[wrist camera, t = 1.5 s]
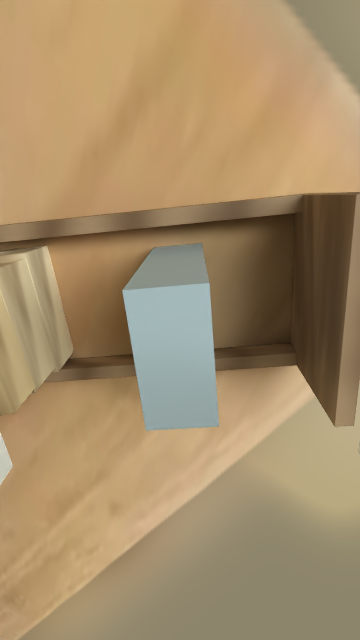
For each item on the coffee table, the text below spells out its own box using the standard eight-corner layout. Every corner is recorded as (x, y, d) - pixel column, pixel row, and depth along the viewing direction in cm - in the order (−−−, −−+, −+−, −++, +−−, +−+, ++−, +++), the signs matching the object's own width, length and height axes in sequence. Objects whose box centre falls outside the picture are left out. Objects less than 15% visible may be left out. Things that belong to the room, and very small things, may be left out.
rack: (11, 374, 32) (-64, 448, 22) (-37, 229, 27) (-159, 246, 17) (303, 353, 30) (353, 425, 21) (310, 193, 25) (382, 191, 15)
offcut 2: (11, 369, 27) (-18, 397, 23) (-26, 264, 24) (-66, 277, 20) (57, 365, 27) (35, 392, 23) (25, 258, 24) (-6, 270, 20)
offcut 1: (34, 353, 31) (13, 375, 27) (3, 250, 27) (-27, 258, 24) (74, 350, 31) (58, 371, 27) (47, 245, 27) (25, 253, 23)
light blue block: (164, 334, 30) (145, 430, 18) (153, 247, 27) (122, 290, 15) (207, 331, 29) (219, 426, 17) (201, 242, 26) (209, 282, 14)
